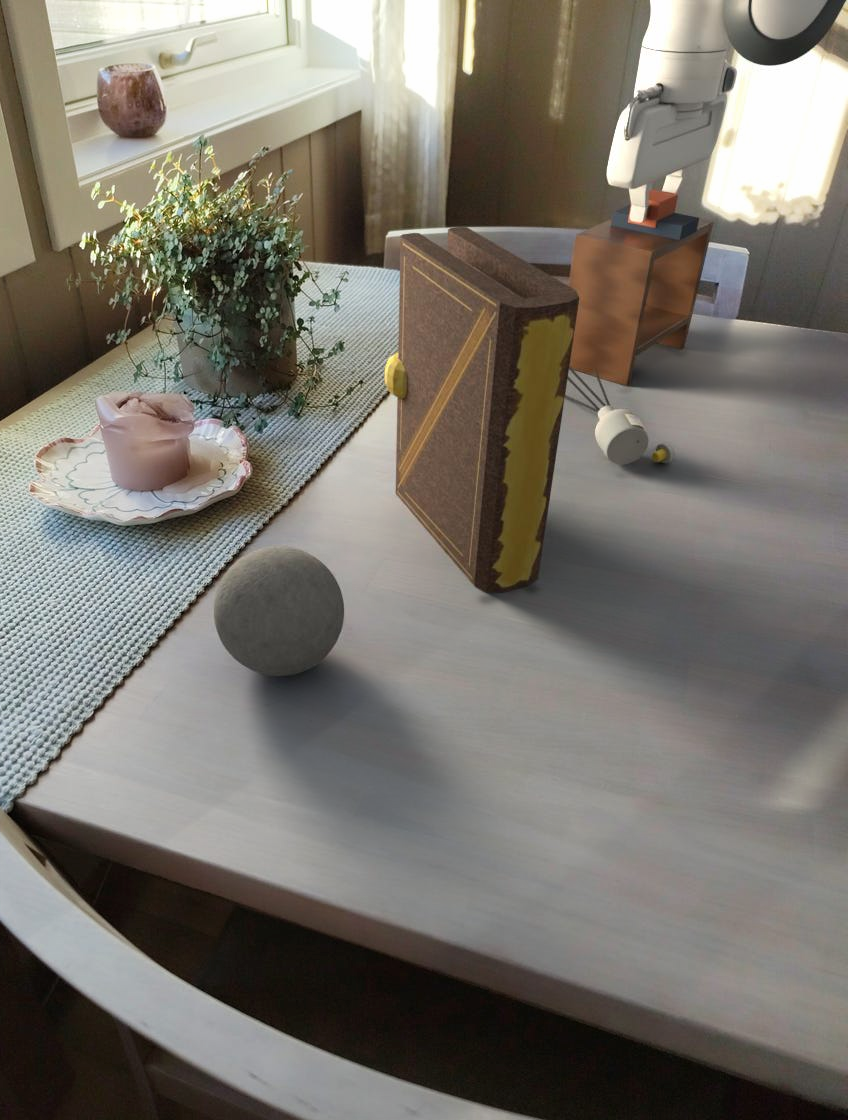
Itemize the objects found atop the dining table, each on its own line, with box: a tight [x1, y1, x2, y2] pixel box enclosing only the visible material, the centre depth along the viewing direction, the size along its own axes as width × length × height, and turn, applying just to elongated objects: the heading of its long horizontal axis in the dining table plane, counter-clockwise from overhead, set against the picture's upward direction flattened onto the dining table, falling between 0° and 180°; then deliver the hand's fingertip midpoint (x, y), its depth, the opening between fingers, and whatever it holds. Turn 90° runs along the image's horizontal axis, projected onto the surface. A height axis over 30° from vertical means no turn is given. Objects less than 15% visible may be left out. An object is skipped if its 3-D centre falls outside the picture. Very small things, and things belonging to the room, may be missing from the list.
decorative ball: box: [213, 545, 345, 677], centre depth 69 cm, size 10×10×10 cm
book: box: [384, 226, 579, 593], centre depth 79 cm, size 22×8×25 cm, turn 23°
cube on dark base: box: [611, 188, 700, 240], centre depth 106 cm, size 9×5×4 cm, turn 49°
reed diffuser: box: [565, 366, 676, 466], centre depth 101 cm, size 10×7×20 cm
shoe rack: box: [568, 217, 715, 387], centre depth 113 cm, size 10×16×16 cm, turn 139°
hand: (652, 214), depth 106 cm, fingers open, 5 cm apart
